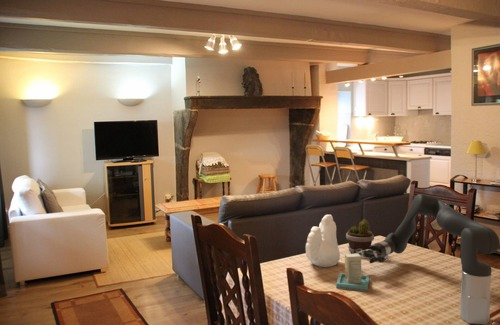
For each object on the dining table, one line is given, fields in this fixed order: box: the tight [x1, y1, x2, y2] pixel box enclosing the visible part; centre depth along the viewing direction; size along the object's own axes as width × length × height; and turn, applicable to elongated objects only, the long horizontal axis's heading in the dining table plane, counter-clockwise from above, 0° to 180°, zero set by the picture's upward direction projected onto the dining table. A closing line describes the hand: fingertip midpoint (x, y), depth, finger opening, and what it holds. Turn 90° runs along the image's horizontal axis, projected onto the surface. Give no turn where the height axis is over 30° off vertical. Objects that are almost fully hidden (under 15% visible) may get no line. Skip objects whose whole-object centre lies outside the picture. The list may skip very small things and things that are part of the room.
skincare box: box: [344, 253, 362, 284], centre depth 184 cm, size 6×4×12 cm
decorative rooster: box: [305, 214, 341, 268], centre depth 207 cm, size 25×16×25 cm, turn 130°
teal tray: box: [335, 272, 370, 292], centre depth 184 cm, size 13×13×2 cm
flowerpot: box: [345, 218, 375, 256], centre depth 226 cm, size 14×15×20 cm
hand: (361, 258), depth 189 cm, fingers open, 8 cm apart
